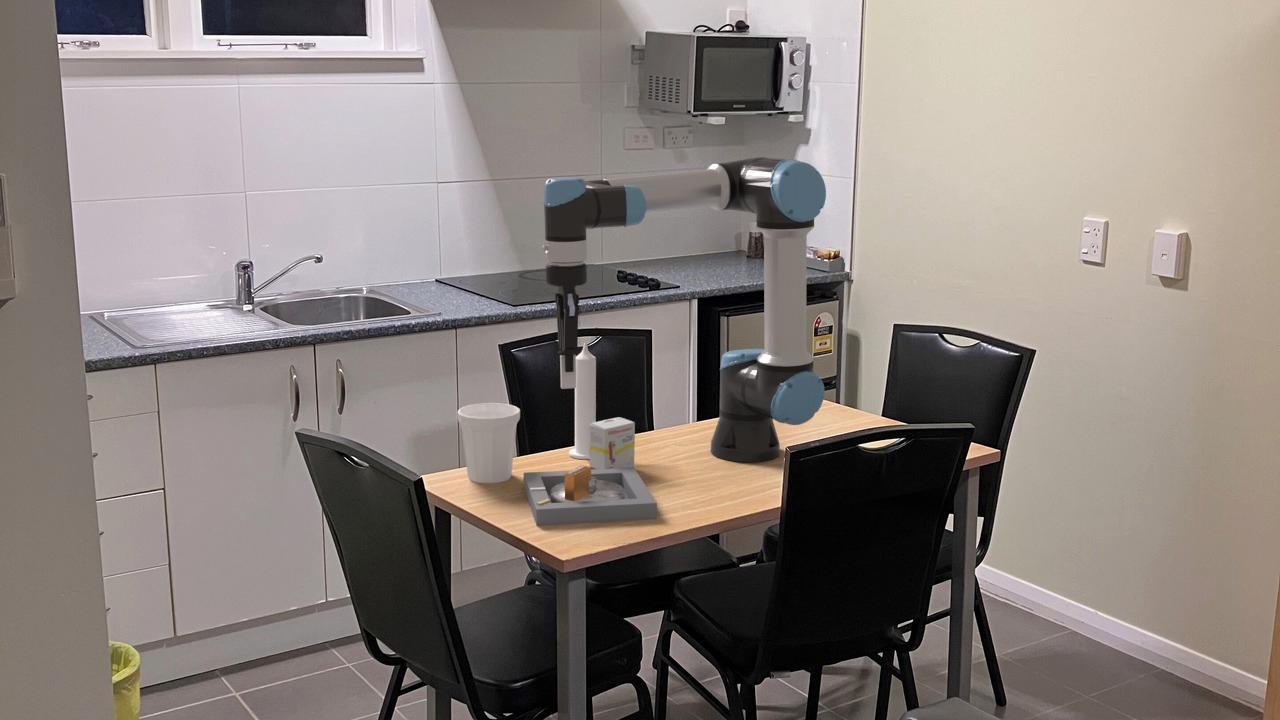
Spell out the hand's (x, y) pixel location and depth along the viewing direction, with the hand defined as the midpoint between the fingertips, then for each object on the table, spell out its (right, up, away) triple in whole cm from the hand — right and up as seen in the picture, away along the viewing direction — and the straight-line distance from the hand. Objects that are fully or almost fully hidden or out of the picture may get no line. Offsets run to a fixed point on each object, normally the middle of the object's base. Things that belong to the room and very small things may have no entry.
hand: (568, 387), depth 234 cm
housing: (+3, -23, +3) cm, 24 cm away
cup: (-17, -20, +18) cm, 32 cm away
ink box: (+8, -19, +23) cm, 31 cm away
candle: (+1, -16, +38) cm, 41 cm away
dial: (+3, -22, +2) cm, 22 cm away
